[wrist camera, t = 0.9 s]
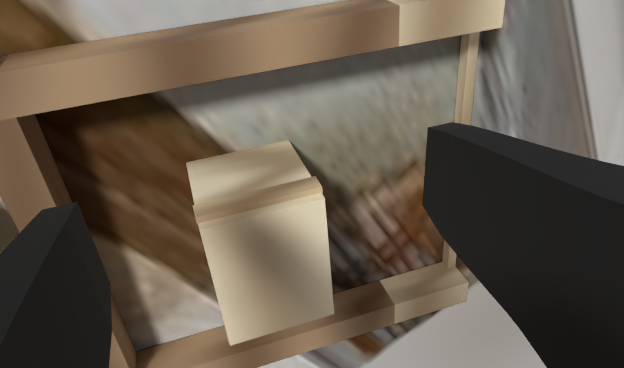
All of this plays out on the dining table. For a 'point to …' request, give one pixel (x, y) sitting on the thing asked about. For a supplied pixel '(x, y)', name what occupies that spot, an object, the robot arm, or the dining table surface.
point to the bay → (215, 66)
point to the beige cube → (263, 239)
